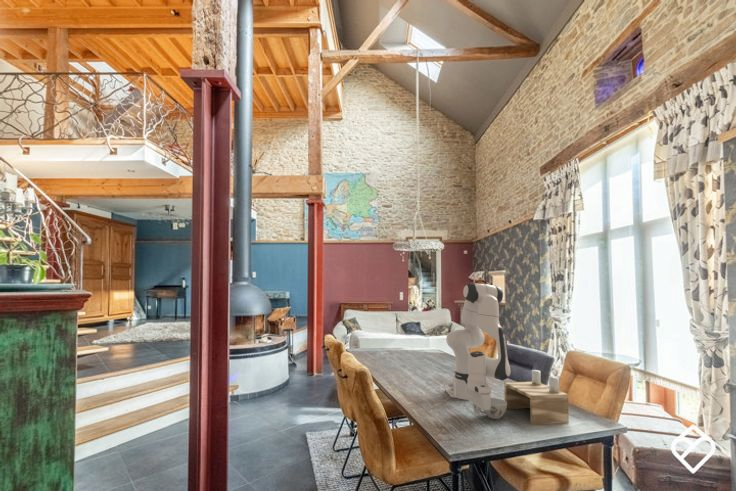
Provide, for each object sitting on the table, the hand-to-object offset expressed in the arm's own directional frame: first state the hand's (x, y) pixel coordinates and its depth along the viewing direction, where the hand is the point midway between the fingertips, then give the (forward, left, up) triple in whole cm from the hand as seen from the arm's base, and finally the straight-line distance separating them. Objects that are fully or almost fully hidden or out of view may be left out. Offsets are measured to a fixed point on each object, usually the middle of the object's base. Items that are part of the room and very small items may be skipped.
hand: (476, 413), depth 190 cm
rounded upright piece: (-7, +39, +11) cm, 41 cm away
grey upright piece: (+7, +39, +11) cm, 41 cm away
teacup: (0, +8, -2) cm, 8 cm away
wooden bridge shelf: (0, +33, -2) cm, 33 cm away
